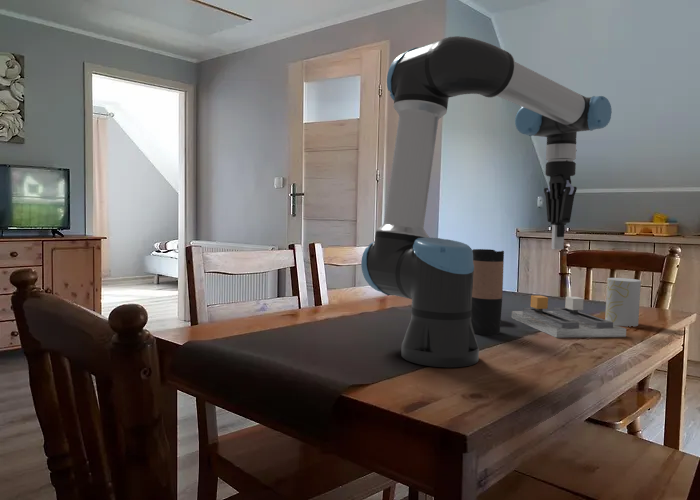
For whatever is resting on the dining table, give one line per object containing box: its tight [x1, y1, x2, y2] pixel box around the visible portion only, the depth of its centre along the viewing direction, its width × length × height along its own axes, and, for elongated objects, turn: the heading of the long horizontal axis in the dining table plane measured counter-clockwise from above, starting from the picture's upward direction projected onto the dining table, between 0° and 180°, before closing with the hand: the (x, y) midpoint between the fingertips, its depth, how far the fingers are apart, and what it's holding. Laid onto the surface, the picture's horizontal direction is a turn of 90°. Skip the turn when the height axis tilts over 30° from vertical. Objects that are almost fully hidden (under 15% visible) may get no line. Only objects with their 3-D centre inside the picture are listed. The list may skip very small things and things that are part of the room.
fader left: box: [529, 295, 549, 313], centre depth 150 cm, size 3×4×5 cm
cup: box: [604, 277, 642, 327], centre depth 152 cm, size 8×8×12 cm
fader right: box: [564, 296, 584, 315], centre depth 149 cm, size 3×4×5 cm
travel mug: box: [471, 248, 505, 336], centre depth 136 cm, size 8×8×20 cm
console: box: [511, 307, 627, 339], centre depth 145 cm, size 18×24×3 cm
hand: (557, 248), depth 152 cm, fingers closed
